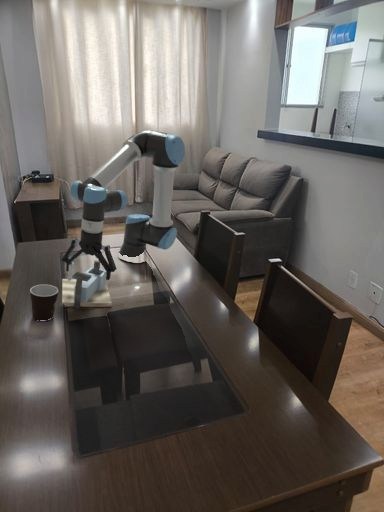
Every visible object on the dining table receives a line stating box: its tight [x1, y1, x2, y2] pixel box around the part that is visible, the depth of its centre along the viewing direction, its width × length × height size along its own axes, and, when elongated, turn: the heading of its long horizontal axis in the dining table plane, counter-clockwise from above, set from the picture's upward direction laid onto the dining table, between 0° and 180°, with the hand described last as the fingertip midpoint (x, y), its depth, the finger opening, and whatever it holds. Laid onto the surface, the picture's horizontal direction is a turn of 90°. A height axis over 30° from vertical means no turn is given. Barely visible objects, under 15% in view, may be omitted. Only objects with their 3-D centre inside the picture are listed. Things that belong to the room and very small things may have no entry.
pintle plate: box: [61, 259, 113, 310], centre depth 139 cm, size 22×18×12 cm
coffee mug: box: [29, 283, 59, 322], centre depth 121 cm, size 12×9×10 cm
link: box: [74, 266, 106, 303], centre depth 140 cm, size 19×7×6 cm, turn 174°
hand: (87, 283), depth 136 cm, fingers open, 13 cm apart
